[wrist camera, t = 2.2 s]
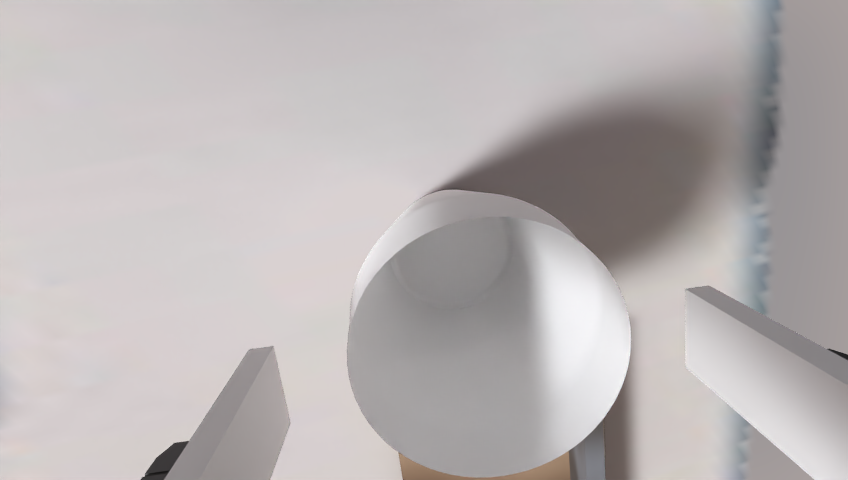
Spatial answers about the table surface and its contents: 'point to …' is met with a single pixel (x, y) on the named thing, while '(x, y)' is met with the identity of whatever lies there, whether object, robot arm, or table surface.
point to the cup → (484, 335)
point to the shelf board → (564, 476)
